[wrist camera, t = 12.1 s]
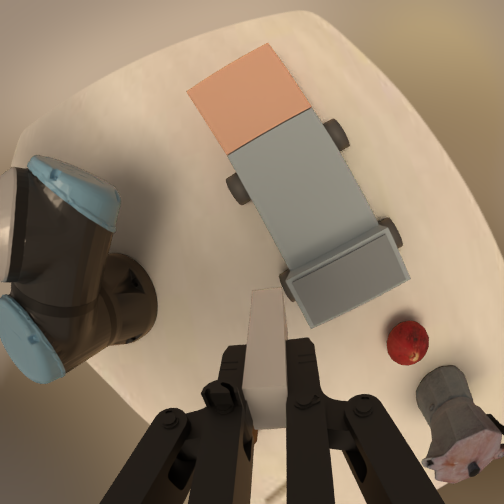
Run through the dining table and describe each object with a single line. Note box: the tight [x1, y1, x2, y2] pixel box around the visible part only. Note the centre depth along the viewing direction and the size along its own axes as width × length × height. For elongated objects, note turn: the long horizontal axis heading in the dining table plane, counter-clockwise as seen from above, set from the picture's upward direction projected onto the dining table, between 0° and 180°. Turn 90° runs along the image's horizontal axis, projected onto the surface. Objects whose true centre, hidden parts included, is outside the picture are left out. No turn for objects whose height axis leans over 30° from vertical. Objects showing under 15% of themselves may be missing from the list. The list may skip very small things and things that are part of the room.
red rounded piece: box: [387, 321, 429, 365], centre depth 34 cm, size 6×6×8 cm
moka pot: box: [416, 366, 504, 483], centre depth 28 cm, size 10×15×20 cm, turn 94°
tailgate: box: [186, 43, 311, 155], centre depth 34 cm, size 2×12×10 cm
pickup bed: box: [226, 108, 411, 329], centre depth 34 cm, size 22×16×10 cm
